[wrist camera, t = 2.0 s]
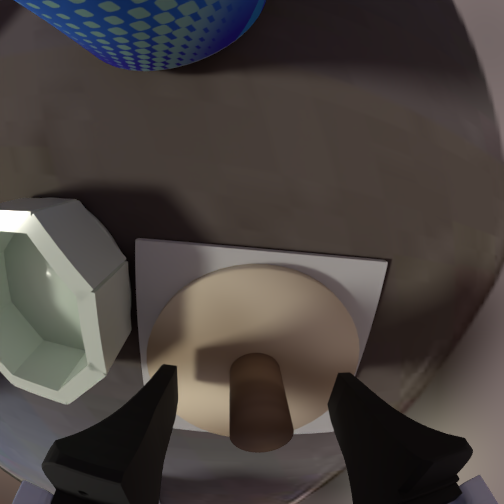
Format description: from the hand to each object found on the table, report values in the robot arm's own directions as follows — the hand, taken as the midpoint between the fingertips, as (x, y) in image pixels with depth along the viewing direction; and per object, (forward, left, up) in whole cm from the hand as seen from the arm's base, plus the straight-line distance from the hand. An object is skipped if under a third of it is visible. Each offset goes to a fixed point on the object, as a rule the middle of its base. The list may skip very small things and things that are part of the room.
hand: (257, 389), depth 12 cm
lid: (0, 0, -2) cm, 2 cm away
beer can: (+17, +6, -3) cm, 18 cm away
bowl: (+3, +11, -3) cm, 11 cm away
